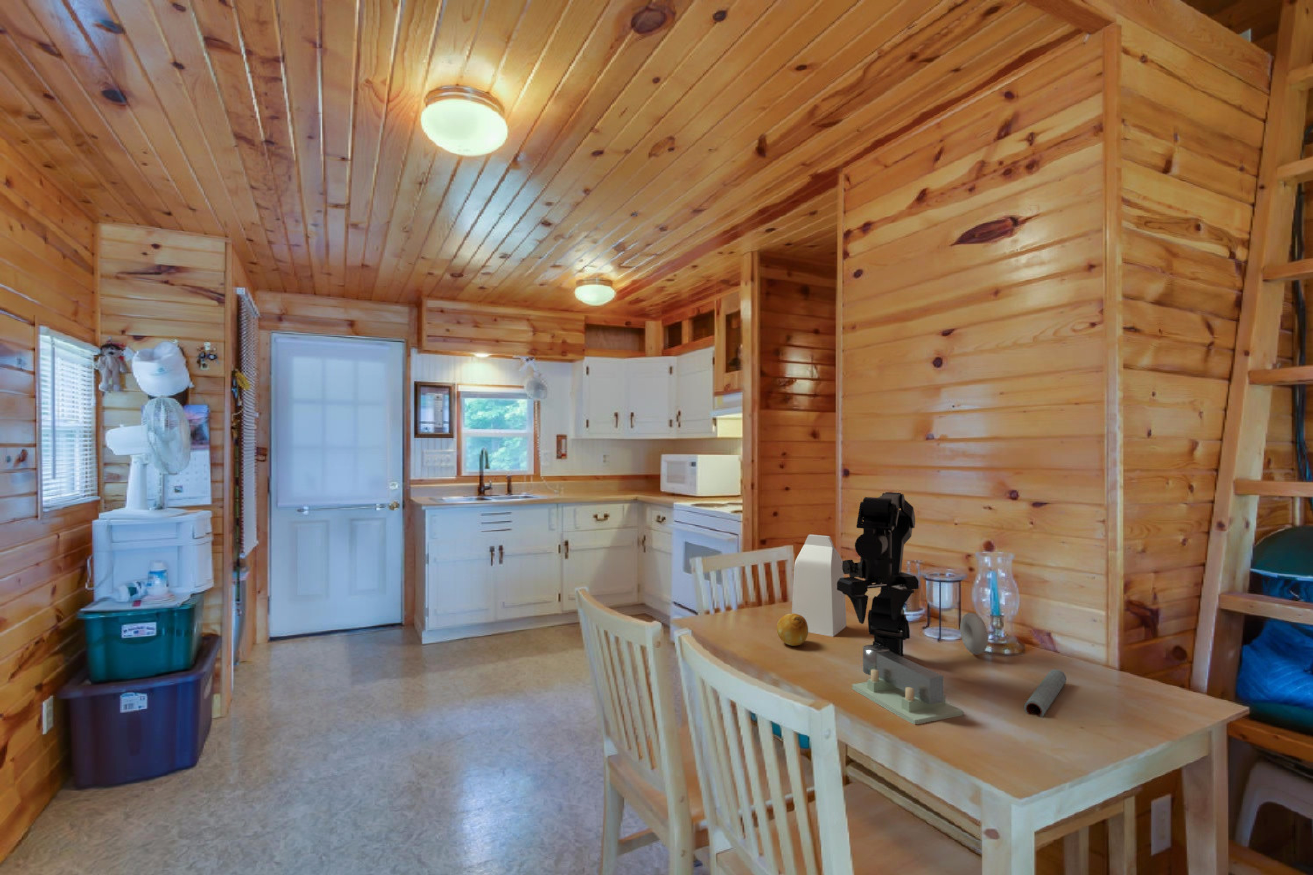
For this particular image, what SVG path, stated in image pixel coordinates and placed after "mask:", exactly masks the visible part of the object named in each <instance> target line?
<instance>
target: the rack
mask: <svg viewBox="0 0 1313 875" xmlns="http://www.w3.org/2000/svg"><path fill="white" fill-rule="evenodd" d="M851 687H852V689H851V690H853V691H855V692H857V693H858V694H860V695H862V696H864V697H865V698H867V699H868V700H870V701H871V702H873V703H875V704H877V705H879V706H881V707H882V708H884V709H886V710H887V711H889V712H890V713H892V714H895V716H897V717H899V718H901V719H903V720H904V721H907V722H909V723H910V724H912V725H914V724H917V725H921V724H925V723H926V722H927V723H931V721H932V722H934V721H935V722H936V721H941V720H946V719H949V718H955V717H960V716H964V710H963V709H961V708H960V707H958V706H955V705H954V704H952V703H949V702H948V701H946V695H945V694H944V693H943V702H940V703H935V704H928V703H926V702H924V701H922V700H920V699H918V698H916V697H914V688H911V687H906V688H905V691H903V690H901V689H899V688H897V687H895V686H894V685H892V684H890V683H888V682H886V681H884V680H882V679H880V678H879V671H878V670H876V669H872V670H871V675H870V678H868V679H867V681H865V682H859V683H852V684H851ZM927 723H926V724H927Z"/></svg>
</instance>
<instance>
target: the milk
mask: <svg viewBox="0 0 1313 875" xmlns="http://www.w3.org/2000/svg"><path fill="white" fill-rule="evenodd" d="M843 561H844V560H843V559H842V557H841V555H840V553H839V551H838V550H837V549H836V547H835V545H834V543H833V540H832V537H831V536H829V535H820V534H808V535H807V537H806V539H805V541H804V544H803V546H802V547H801V550H800V552H799V553H798V555H797V557H796V558H795V561H794V566H793V583H792V585H793V586H792V601H791V602H792V603H791V613H794V614H798V615H801V616H802V617H804V618H805V620H806V622H807V625H808V633H810V634H817V635H822V636H827V637H833V638H834V637H835V636H836V635H838V634H839V633H840V632H841V631H843V630H844V629H845V628H846V627H847V625H848V624H847V612H846V610H847V609H846V595H845V594H843V593H842V592H841V591H839V590H837V581H838V580H839V579H840V578H845V574H844V573H843V569H842V564H843Z"/></svg>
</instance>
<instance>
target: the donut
mask: <svg viewBox="0 0 1313 875" xmlns="http://www.w3.org/2000/svg"><path fill="white" fill-rule="evenodd" d="M985 624H986V623H985V622H984V620H983V618H982V617H981V616H979V615H978V613H975V612H967V613H965V614H964V615H963V616H962V618H961V619H960V627H959V628H960V631H959V632H960V636H961V640H962V643H963V646H965V649H966V650H967V651H968V652H969V653H972V654H973V655H980V654H983V653H984V652H985V650H987V647H988V642H989V639H988V638H989V637H988V631H987V629H988V628H987V627H986V625H985Z"/></svg>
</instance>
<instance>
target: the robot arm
mask: <svg viewBox="0 0 1313 875" xmlns="http://www.w3.org/2000/svg"><path fill="white" fill-rule="evenodd" d="M881 494H882V495H879V497H875V496H874V497H871V496H869V497H868V496H864V498H863V499H862V501H860V503H859V509H858V512H857V513H858V514H857V520H856V526H855V527H856V529H863V532H862V533H861V534H860V535H859V536H858V537H857V538H856V539H855V542H854V548H855V549H854V550H855V551H856V552H855V553H856V554H857V555H858V556H859V557H860V559H859V560H860V561H858V562H854V560H853V559H845V560H843V564H842V569H843V573H844V575H849V576H847V577H845V576H844V578H840V579H839V580H838V581H837V590H839V591H841V592H842V593H843V594H845V596H847V598H849V600H850V602H851V604H852V606H853V609H854V612H855V615H856V617H857V620H858V623H859V624H861V625H863V624H865V620H866V613H867V607H868V601H869V595H867V594H866V593H867V592H868V590H869V589H876V588H880V592H879V593H878V595H877V596H876V595H874V597H873V598H872V600H871V601H872V602H871V608H870V609H869V610H868V613H867V625H868V635H869V636H873V641H872V645H880V646H884V647H886V648H888V649H889V651H890V652H892V653H895V654H897V655H899V656H901V657H903V658H904V641H906V640H909V639H911V638H910V636H911V632H910V631H911V629H910V624H909V623H910V622H909V620H908V618H907V615H906V614H905V608H904V607H905V605H906V603H907V602H908V599H909V598H910V597H911V595H912V594H914V593H915V590H918V589H919V587H920V586H919V584H920V583H919V582H920V581H919V579H918V577H917V576H916V575H915V574H910V573H906V572H903V571H902V568H903V559H904V548H905V544H906V543H907V542H908V541H909V540H910V539H911V538H912V534H913V529H915V527H916V515H915V508H914V507H913V506H912V504H910V503H909V502H908V501H907V500H906V499H905V494H904V493H902V492H891V491H889V492H887V491H886V492H883V493H881ZM863 579H864V580H863Z"/></svg>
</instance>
